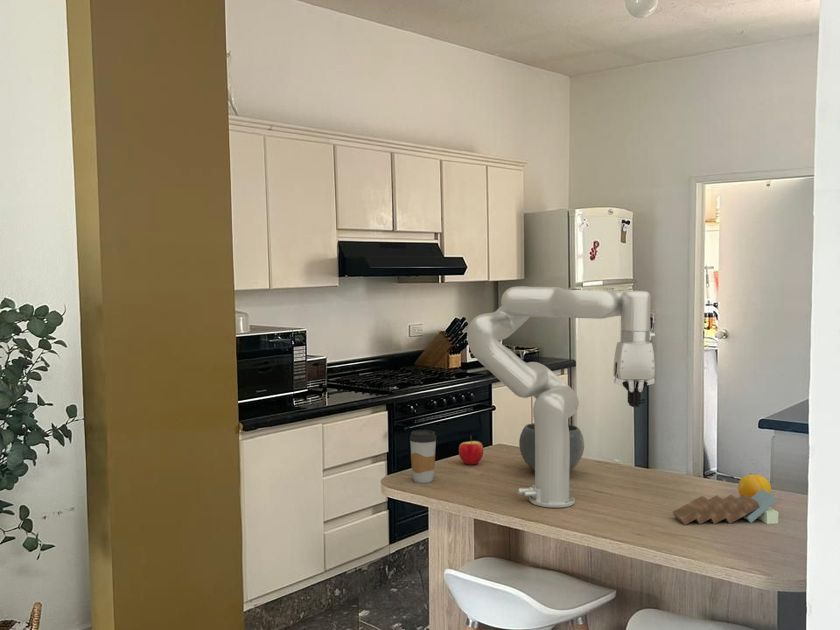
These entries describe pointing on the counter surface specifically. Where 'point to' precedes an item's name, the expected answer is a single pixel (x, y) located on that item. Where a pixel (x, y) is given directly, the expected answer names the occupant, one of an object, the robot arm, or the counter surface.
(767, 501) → the domino
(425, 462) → the coffee cup
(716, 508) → the domino
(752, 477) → the fruit
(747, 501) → the domino
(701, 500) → the domino
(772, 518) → the block
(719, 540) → the counter surface
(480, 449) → the apple
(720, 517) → the domino
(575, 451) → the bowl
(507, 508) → the counter surface
